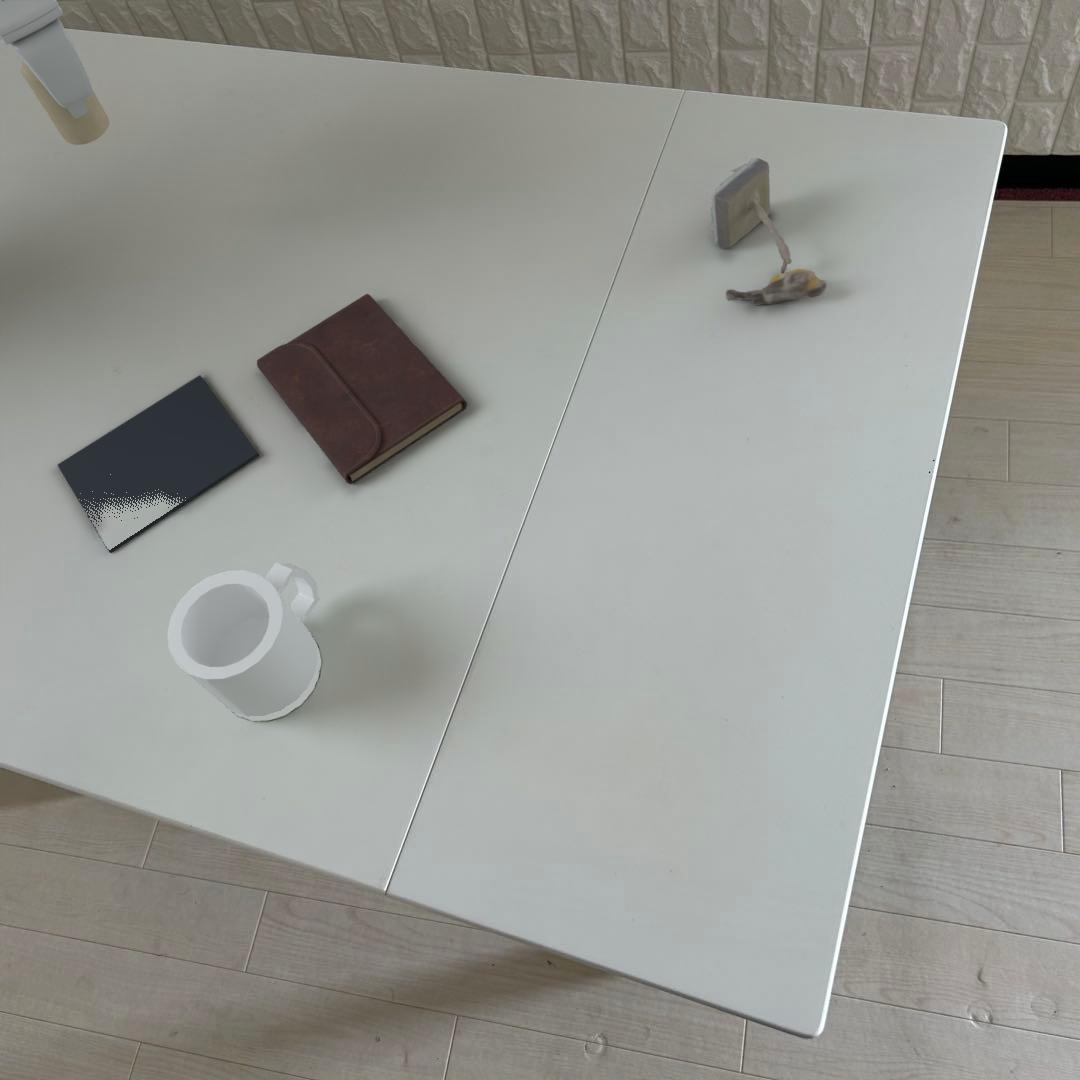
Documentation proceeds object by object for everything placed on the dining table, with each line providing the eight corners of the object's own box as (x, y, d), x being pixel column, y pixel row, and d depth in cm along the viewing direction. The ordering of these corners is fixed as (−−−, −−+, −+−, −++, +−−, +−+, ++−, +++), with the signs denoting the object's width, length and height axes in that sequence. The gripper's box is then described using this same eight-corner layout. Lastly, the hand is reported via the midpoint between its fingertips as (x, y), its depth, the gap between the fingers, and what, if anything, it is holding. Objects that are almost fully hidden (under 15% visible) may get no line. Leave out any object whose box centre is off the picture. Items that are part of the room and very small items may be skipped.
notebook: (373, 301, 119) (368, 289, 118) (468, 407, 110) (464, 395, 108) (260, 372, 116) (254, 360, 115) (348, 486, 107) (343, 476, 106)
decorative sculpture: (828, 300, 111) (837, 250, 104) (744, 332, 110) (747, 284, 104) (760, 203, 119) (764, 151, 112) (681, 232, 118) (680, 182, 112)
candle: (106, 106, 119) (61, 26, 111) (113, 135, 117) (66, 56, 108) (60, 121, 119) (10, 43, 110) (65, 151, 116) (15, 73, 108)
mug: (277, 577, 103) (235, 523, 94) (361, 616, 100) (327, 565, 91) (195, 694, 98) (143, 650, 89) (281, 740, 95) (236, 699, 86)
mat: (110, 553, 107) (108, 551, 107) (59, 467, 114) (56, 464, 113) (259, 455, 111) (257, 453, 110) (201, 377, 117) (199, 374, 117)
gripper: (-71, -50, 106) (6, 69, 118) (2, 38, 97) (78, 157, 109) (-15, -78, 108) (56, 42, 120) (62, 6, 98) (131, 127, 110)
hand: (67, 98), depth 114 cm, fingers closed on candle, 5 cm apart
